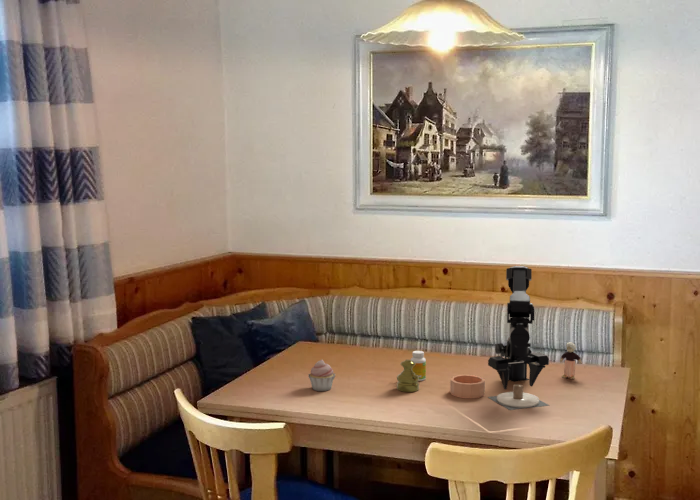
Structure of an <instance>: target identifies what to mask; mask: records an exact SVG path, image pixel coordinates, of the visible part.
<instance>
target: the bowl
mask: <svg viewBox="0 0 700 500" xmlns="http://www.w3.org/2000/svg"><path fill="white" fill-rule="evenodd" d="M449 383H450V384H449V385H450V386H449V392H450V394H451V395H452V396H453V397H456V398H461V399H462V398H463V399H479V398H482V397H484V396H485V395H486V394H485V392H486V379H485V378H483V377H482V376H479V375H473V374H472V375H471V374H458V375H454V376H451V377H450V382H449Z"/></svg>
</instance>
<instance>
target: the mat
mask: <svg viewBox="0 0 700 500" xmlns="http://www.w3.org/2000/svg"><path fill="white" fill-rule="evenodd" d="M497 396H498V395H492V396H487V398H488V399H489V400H491V401H493V402H494V403H496V404H498V405H500V406H501V407H503V408H505V409H506V410H508V411H514V410H522V409H530V408H531V409H533V408H540V407H548V406H549V407H550V404H548V403H546V402H544V401H542V400H541V399H539V404H538V405H536V406H533V407H510V406H506V405H503V404H500V403H499V402H498V401H497Z"/></svg>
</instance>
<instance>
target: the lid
mask: <svg viewBox="0 0 700 500" xmlns="http://www.w3.org/2000/svg"><path fill="white" fill-rule="evenodd" d="M496 396H497V401H498V402H499V403H500V404H503V405H506V406H510V407H533V406H536V405H538V404H539V400H540V398H539V396H537V395H535V394H532V393H528V392H524V385H523V384H518V383H515V384H513V387H512V391H507V392H502V393H501V392H500V393H499V394H497V395H496ZM500 404H499V405H500ZM533 408H534V407H533Z"/></svg>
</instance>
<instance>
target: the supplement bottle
mask: <svg viewBox="0 0 700 500" xmlns="http://www.w3.org/2000/svg"><path fill="white" fill-rule="evenodd" d="M411 356H412V357H411V358H410V360H411V361H413V362H415V366H413V368H412V370H413V372H415V374H417V375H418V376H419V380H418V381H417V382H422V381H425V380H426V379H427V360H426V357H425V352H424V351H422V350H414V351H412V355H411Z"/></svg>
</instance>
